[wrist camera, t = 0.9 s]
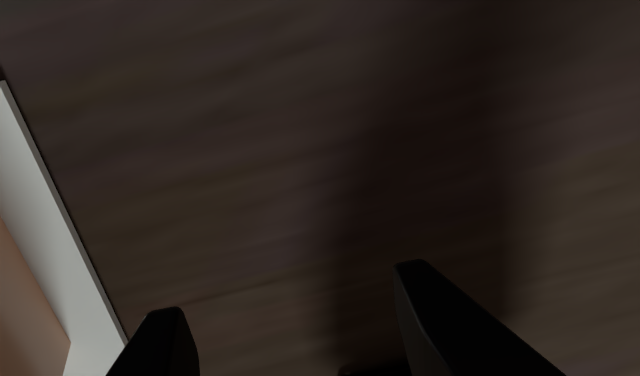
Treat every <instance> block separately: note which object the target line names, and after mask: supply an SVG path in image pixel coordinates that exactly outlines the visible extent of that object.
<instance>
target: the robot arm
mask: <svg viewBox="0 0 640 376" xmlns="http://www.w3.org/2000/svg"><path fill="white" fill-rule="evenodd" d="M393 286H394V300H395V311H396V317H397V321H398V325H399V329H400V333H401V336H402V340H403V344H404V347H405V351H406V355H407V358H408V362H409V364H407V365H402V366H397V367H392V368H387V369H382V370H377V371H372V372H367V373H362V374H357V375H352V376H566V375H565V374H564V373H563V372H561V371H560V370H559V369H558V368H557V367H555V366H554V365H553V364H552V363H550V362H549V361H548V360H547V359H545V358H544V357H543V356H542V355H541V354H539V353H538V352H537V351H536V350H534V349H533V348H532V347H531V346H529V345H528V344H527V343H526V342H525V341H523V340H522V339H521V338H520V337H518V336H517V335H516V334H515V333H514V332H512V331H511V330H510V329H509V328H507V327H506V326H505V325H504V324H502V323H501V322H500V321H499V320H498V319H496V318H495V317H494V316H493V315H491V314H490V313H489V312H488V311H487V310H485V309H484V308H483V307H482V306H480V305H479V304H478V303H477V302H475V301H474V300H473V299H472V298H471V297H469V296H468V295H467V294H466V293H464V292H463V291H462V290H461V289H459V288H458V287H457V286H456V285H455V284H453V283H452V282H451V281H450V280H448V279H447V278H446V277H445V276H444V275H442V274H441V273H440V272H439V271H437V270H436V269H435V268H434V267H432V266H431V265H430V264H429V263H428V262H426V261H425V260H422V259H417V260H411V261H406V262H401V263H397V264H395V265H394V267H393ZM105 376H200V368H199V358H198V352H197V348H196V345H195V342H194V339H193V337H192V334H191V331H190V328H189V326H188V323H187V320H186V318H185V315H184V313H183V311H182V310H181V308H179V307H176V306H174V307H169V308H164V309H159V310H153V311H151V312H149V313H148V314H147V315H146V316H145V317H144V319H143V320H142V322H141V323H140V325H139V326H138V328H137V329H136V331H135V332H134V334H133V335H132V337H131V338H130V340H129V341H128V343H127V344H126V345H125V347H124V348H123V350H122V351H121V353H120V354H119V356H118V357H117V359H116V360H115V362H114V363H113V365H112V366H111V368H110V369H109V371H108V372H107V374H106V375H105Z"/></svg>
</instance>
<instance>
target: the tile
mask: <svg viewBox="0 0 640 376" xmlns="http://www.w3.org/2000/svg"><path fill="white" fill-rule="evenodd" d="M70 345H71V342H70V340H69V338H68V336H67V334H66V333H65V331H64V329H63V327H62V325H61V324H60V322H59V320H58V318H57V317H56V315H55V313H54V311H53V309H52V308H51V306H50V304H49V302H48V300H47V299H46V297H45V295H44V293H43V291H42V290H41V288H40V286H39V284H38V282H37V281H36V279H35V277H34V275H33V273H32V272H31V270H30V268H29V266H28V264H27V263H26V261H25V259H24V257H23V255H22V254H21V252H20V250H19V248H18V246H17V245H16V243H15V241H14V239H13V237H12V236H11V234H10V232H9V230H8V228H7V227H6V225H5V223H4V221H3V219H2V218H1V216H0V376H63V373H64V369H65V365H66V361H67V357H68V353H69V349H70Z"/></svg>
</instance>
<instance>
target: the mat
mask: <svg viewBox="0 0 640 376" xmlns="http://www.w3.org/2000/svg"><path fill="white" fill-rule="evenodd" d="M0 216H1V218H2V219H3V221H4V223H5V225H6V227H7V228H8V230H9V232H10V234H11V236H12V237H13V239H14V241H15V243H16V245H17V246H18V248H19V250H20V252H21V254H22V255H23V257H24V259H25V261H26V263H27V264H28V266H29V268H30V270H31V272H32V273H33V275H34V277H35V279H36V281H37V282H38V284H39V286H40V288H41V290H42V291H43V293H44V295H45V297H46V299H47V300H48V302H49V304H50V306H51V308H52V309H53V311H54V313H55V315H56V317H57V318H58V320H59V322H60V324H61V325H62V327H63V329H64V331H65V333H66V334H67V336H68V338H69V340H70V342H71V345H70V349H69V353H68V357H67V361H66V365H65V369H64V373H63V376H105V375H106V374H107V372H108V371H109V369H110V368H111V366H112V365H113V363H114V362H115V360H116V359H117V357H118V356H119V354H120V353H121V351H122V350H123V348H124V347H125V345H126V344H127V343H128V340H127V338H126V336H125V334H124V332H123V330H122V328H121V325H120V323H119V321H118V319H117V317H116V315H115V313H114V311H113V309H112V306H111V304H110V302H109V300H108V298H107V296H106V294H105V292H104V289H103V287H102V285H101V283H100V281H99V279H98V277H97V275H96V272H95V270H94V268H93V266H92V264H91V262H90V260H89V258H88V255H87V253H86V251H85V249H84V247H83V245H82V243H81V241H80V238H79V236H78V234H77V232H76V230H75V228H74V226H73V224H72V221H71V219H70V217H69V215H68V213H67V211H66V209H65V207H64V204H63V202H62V200H61V198H60V196H59V194H58V192H57V190H56V187H55V185H54V183H53V181H52V179H51V177H50V175H49V173H48V170H47V168H46V166H45V164H44V162H43V160H42V158H41V156H40V154H39V151H38V149H37V147H36V145H35V143H34V141H33V139H32V137H31V134H30V132H29V130H28V128H27V126H26V124H25V122H24V120H23V117H22V115H21V113H20V111H19V109H18V107H17V105H16V103H15V100H14V98H13V96H12V94H11V92H10V90H9V88H8V86H7V83H6V81H5V80H3V81H0Z"/></svg>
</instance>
